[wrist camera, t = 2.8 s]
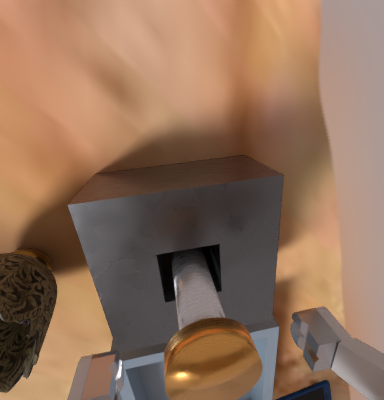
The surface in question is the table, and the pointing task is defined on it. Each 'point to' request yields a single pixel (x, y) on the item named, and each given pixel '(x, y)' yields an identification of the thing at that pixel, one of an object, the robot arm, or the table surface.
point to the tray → (155, 376)
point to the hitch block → (179, 241)
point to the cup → (23, 312)
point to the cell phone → (311, 392)
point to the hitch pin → (206, 339)
